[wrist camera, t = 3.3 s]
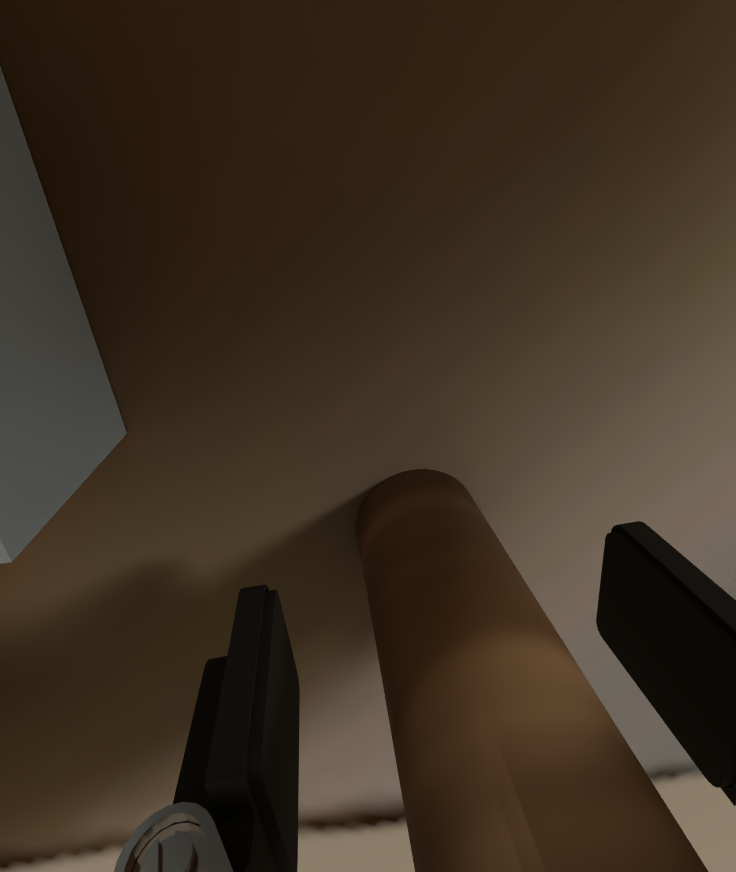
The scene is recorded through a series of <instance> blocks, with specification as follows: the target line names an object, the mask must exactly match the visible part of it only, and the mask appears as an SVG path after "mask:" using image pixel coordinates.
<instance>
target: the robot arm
mask: <svg viewBox="0 0 736 872" xmlns="http://www.w3.org/2000/svg"><path fill="white" fill-rule="evenodd" d="M596 623H597V628H598V631H599V633H600V635H601V636H602V638H603V639H604V641H605V642H606V643H607V645H608V646H609V648H610V649H611V650H612V652H613V653H614V654H615V656H616V657H617V658H618V660H619V661H620V662H621V664H622V665H623V667H624V668H625V669H626V671H627V672H628V673H629V675H630V676H631V677H632V679H633V680H634V681H635V683H636V684H637V686H638V687H639V688H640V690H641V691H642V692H643V694H644V695H645V696H646V698H647V699H648V700H649V702H650V703H651V705H652V706H653V707H654V709H655V710H656V711H657V713H658V714H659V715H660V717H661V718H662V719H663V721H664V722H665V724H666V725H667V726H668V728H669V729H670V730H671V732H672V733H673V734H674V736H675V737H676V738H677V740H678V741H679V743H680V744H681V745H682V747H683V748H684V749H685V751H686V752H687V753H688V755H689V756H690V757H691V759H692V760H693V761H694V763H695V764H696V766H697V767H698V768H699V770H700V771H701V772H702V774H703V775H704V776H705V778H706V779H707V780H708V781H709V782H710V783H711V784H712V785H713V786H715V787H721V789H722V790H723V791H724V793H725V794H726V795H727V797H728V798H729V799H730V801H731V802H732V803H733V805H734V806H735V805H736V600H734V599H733V598H732V597H731V596H730V595H729V594H727V593H726V592H725V591H724V590H723V589H722V588H720V587H719V586H718V585H717V584H716V583H714V582H713V581H712V580H711V579H710V578H709V577H707V576H706V575H705V574H704V573H703V572H702V571H700V570H699V569H698V568H697V567H696V566H694V565H693V564H692V563H691V562H690V561H689V560H687V559H686V558H685V557H684V556H683V555H682V554H680V553H679V552H678V551H677V550H676V549H674V548H673V547H672V546H671V545H670V544H669V543H667V542H666V541H665V540H664V539H663V538H662V537H660V536H659V535H658V534H657V533H656V532H654V531H653V530H652V529H651V528H650V527H649V526H647V525H646V524H645V523H643V522H640V521H638V522H632V523H626V524H620V525H616V526H614V527H613V528H612V530H611V533H608V534H607V535H606V538H605V547H604V556H603V565H602V574H601V583H600V591H599V600H598V609H597V618H596ZM299 698H300V692H299V680H298V674H297V670H296V665H295V661H294V657H293V653H292V649H291V645H290V640H289V636H288V632H287V628H286V624H285V619H284V615H283V611H282V607H281V603H280V599H279V594H278V591H277V590H271V591H269V589H268V586H267V585H260V586H254V587H248V588H243V589H241V590H240V592H239V596H238V602H237V607H236V613H235V618H234V624H233V629H232V634H231V640H230V645H229V651H228V656H225V657H219V658H214V659H209V660H208V661H207V663H206V665H205V668H204V672H203V676H202V681H201V685H200V689H199V693H198V698H197V702H196V706H195V711H194V715H193V719H192V724H191V728H190V732H189V736H188V741H187V745H186V749H185V754H184V758H183V762H182V767H181V771H180V775H179V779H178V784H177V788H176V792H175V797H174V801H173V804H172V805H168V806H166V807H165V808H163V809H161V810H159V811H157V812H155V813H154V814H152V815H151V816H150V817H149V818H148V819H147V820H146V821H144V822H143V823H142V824H141V825H140V826H139V827H138V828H137V829H136V831H135V832H134V833H133V835H132V836H131V837H130V838H129V840H128V841H127V842H126V844H125V846H124V848H123V850H122V852H121V854H120V856H119V858H118V860H117V863H116V867H115V870H114V872H297V859H298V858H297V857H298V853H297V852H298V779H299Z"/></svg>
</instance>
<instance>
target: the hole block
mask: <svg viewBox="0 0 736 872" xmlns="http://www.w3.org/2000/svg"><path fill="white" fill-rule="evenodd" d="M126 434H127V432H126V429H125V426H124V423H123V420H122V417H121V415H120V412H119V409H118V406H117V403H116V400H115V397H114V394H113V391H112V388H111V386H110V383H109V380H108V377H107V374H106V371H105V368H104V365H103V362H102V359H101V357H100V354H99V351H98V348H97V345H96V342H95V339H94V336H93V333H92V330H91V328H90V325H89V322H88V319H87V316H86V313H85V310H84V307H83V304H82V301H81V299H80V296H79V293H78V290H77V287H76V284H75V281H74V278H73V275H72V272H71V270H70V267H69V264H68V261H67V258H66V255H65V252H64V249H63V246H62V243H61V241H60V238H59V235H58V232H57V229H56V226H55V223H54V220H53V217H52V214H51V212H50V209H49V206H48V203H47V200H46V197H45V194H44V191H43V188H42V185H41V183H40V180H39V177H38V174H37V171H36V168H35V165H34V162H33V159H32V156H31V154H30V151H29V148H28V145H27V142H26V139H25V136H24V133H23V130H22V128H21V125H20V122H19V119H18V116H17V113H16V110H15V107H14V104H13V101H12V99H11V96H10V93H9V90H8V87H7V84H6V81H5V78H4V75H3V72H2V70H1V67H0V564H3V563H10V562H13V560H14V559H15V558H16V557H17V556H18V555H19V554H20V553H21V551H22V550H23V549H24V548H25V547H26V546H27V545H28V544H29V543H30V541H31V540H32V539H33V538H34V537H35V536H36V535H37V534H38V532H39V531H40V530H41V529H42V528H43V527H44V526H45V525H46V524H47V522H48V521H49V520H50V519H51V518H52V517H53V516H54V515H55V513H56V512H57V511H58V510H59V509H60V508H61V507H62V506H63V505H64V503H65V502H66V501H67V500H68V499H69V498H70V497H71V496H72V494H73V493H74V492H75V491H76V490H77V489H78V488H79V487H80V486H81V484H82V483H83V482H84V481H85V480H86V479H87V478H88V477H89V475H90V474H91V473H92V472H93V471H94V470H95V469H96V468H97V467H98V465H99V464H100V463H101V462H102V461H103V460H104V459H105V458H106V456H107V455H108V454H109V453H110V452H111V451H112V450H113V449H114V448H115V446H116V445H117V444H118V443H119V442H120V441H121V440H122V439H123V438H124V436H125V435H126Z"/></svg>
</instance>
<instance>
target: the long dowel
mask: <svg viewBox="0 0 736 872" xmlns="http://www.w3.org/2000/svg"><path fill="white" fill-rule="evenodd" d="M357 536H358V542H359V548H360V554H361V559H362V565H363V571H364V577H365V583H366V588H367V594H368V600H369V606H370V612H371V618H372V623H373V629H374V635H375V641H376V647H377V652H378V658H379V664H380V670H381V676H382V681H383V687H384V693H385V699H386V705H387V711H388V716H389V722H390V728H391V734H392V740H393V745H394V751H395V757H396V763H397V769H398V774H399V780H400V786H401V792H402V798H403V804H404V809H405V815H406V821H407V827H408V833H409V838H410V844H411V850H412V856H413V862H414V867H415V872H708V870H707V869H706V867H705V866H704V864H703V862H702V861H701V859H700V858H699V856H698V855H697V853H696V852H695V850H694V848H693V847H692V845H691V843H690V842H689V840H688V839H687V837H686V836H685V834H684V832H683V831H682V829H681V828H680V826H679V824H678V823H677V821H676V820H675V818H674V817H673V815H672V814H671V812H670V810H669V809H668V807H667V805H666V804H665V802H664V801H663V799H662V798H661V796H660V794H659V793H658V791H657V790H656V788H655V786H654V785H653V783H652V782H651V780H650V779H649V777H648V775H647V774H646V772H645V771H644V769H643V767H642V766H641V764H640V763H639V761H638V760H637V758H636V756H635V755H634V753H633V752H632V750H631V748H630V747H629V745H628V744H627V742H626V741H625V739H624V737H623V736H622V734H621V733H620V731H619V729H618V728H617V726H616V725H615V723H614V722H613V720H612V718H611V717H610V715H609V714H608V712H607V711H606V709H605V707H604V706H603V704H602V703H601V701H600V699H599V698H598V696H597V695H596V693H595V692H594V690H593V688H592V687H591V685H590V684H589V682H588V680H587V679H586V677H585V676H584V674H583V673H582V671H581V669H580V668H579V666H578V665H577V663H576V661H575V660H574V658H573V657H572V655H571V654H570V652H569V650H568V649H567V647H566V646H565V644H564V642H563V641H562V639H561V638H560V636H559V635H558V633H557V631H556V630H555V628H554V627H553V625H552V623H551V622H550V620H549V619H548V617H547V616H546V614H545V612H544V611H543V609H542V608H541V606H540V605H539V603H538V601H537V600H536V598H535V597H534V595H533V593H532V592H531V590H530V589H529V587H528V586H527V584H526V582H525V581H524V579H523V578H522V576H521V574H520V573H519V571H518V570H517V568H516V567H515V565H514V563H513V562H512V560H511V559H510V557H509V555H508V554H507V552H506V551H505V549H504V548H503V546H502V544H501V543H500V541H499V540H498V538H497V536H496V535H495V533H494V532H493V530H492V529H491V527H490V525H489V524H488V522H487V521H486V519H485V517H484V516H483V514H482V513H481V511H480V510H479V508H478V506H477V505H476V503H475V502H474V500H473V499H472V497H471V495H470V494H469V492H468V491H467V489H466V488H465V487H464V486H463V485H462V484H461V483H460V482H459V481H458V480H457V479H455V478H453V477H452V476H450V475H448V474H445V473H443V472H439V471H435V470H428V469H419V470H410V471H406V472H402V473H399V474H396V475H394V476H392V477H390V478H388V479H386V480H385V481H383V482H382V483H380V484H379V485H378V486H377V487H375V488H374V489H373V490H372V491H371V492H370V494H369V495H368V496H367V498H366V499H365V501H364V502H363V504H362V506H361V508H360V511H359V514H358V518H357Z"/></svg>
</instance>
